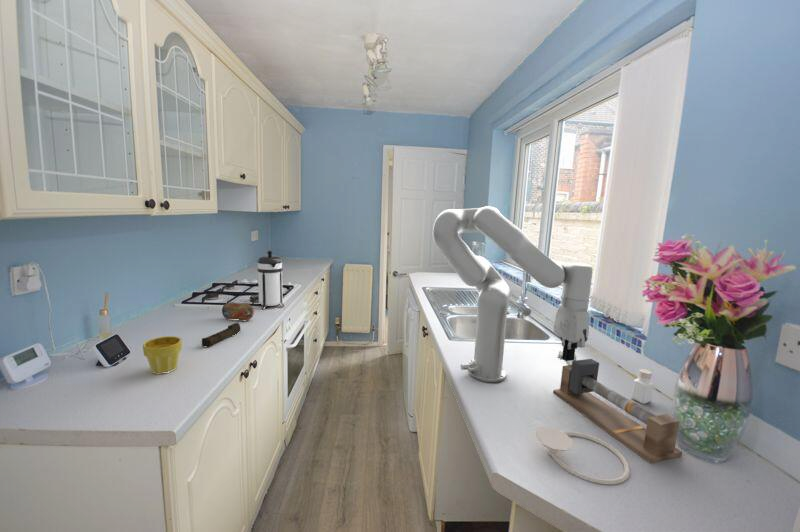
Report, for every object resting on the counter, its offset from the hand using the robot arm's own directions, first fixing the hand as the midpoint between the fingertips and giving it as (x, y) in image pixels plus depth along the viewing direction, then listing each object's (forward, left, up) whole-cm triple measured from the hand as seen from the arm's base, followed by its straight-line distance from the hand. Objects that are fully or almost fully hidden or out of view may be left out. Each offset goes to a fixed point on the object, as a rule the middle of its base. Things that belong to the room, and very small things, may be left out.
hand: (567, 359), depth 113 cm
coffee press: (-94, +114, -10) cm, 148 cm away
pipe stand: (0, -17, -10) cm, 20 cm away
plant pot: (-123, +41, -11) cm, 130 cm away
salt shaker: (+19, -11, -10) cm, 24 cm away
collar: (0, -7, -7) cm, 10 cm away
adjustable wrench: (+15, +14, -11) cm, 23 cm away
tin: (-107, +91, -11) cm, 141 cm away
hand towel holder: (-20, -27, -11) cm, 35 cm away
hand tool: (-110, +67, -11) cm, 129 cm away
